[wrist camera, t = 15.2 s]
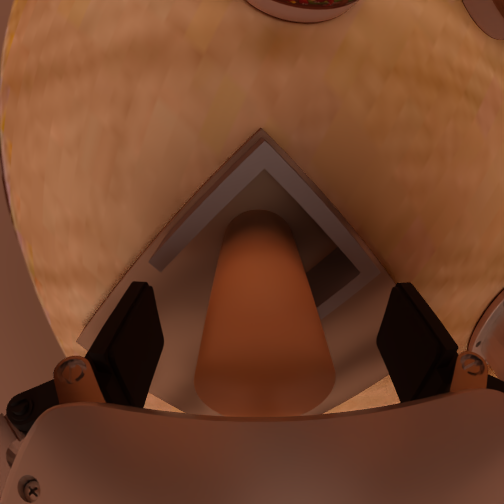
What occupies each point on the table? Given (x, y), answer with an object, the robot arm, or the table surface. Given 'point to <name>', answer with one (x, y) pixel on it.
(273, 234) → the plug
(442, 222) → the table surface
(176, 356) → the board
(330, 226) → the notch block
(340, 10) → the milk bottle
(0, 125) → the table surface
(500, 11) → the coffee cup
